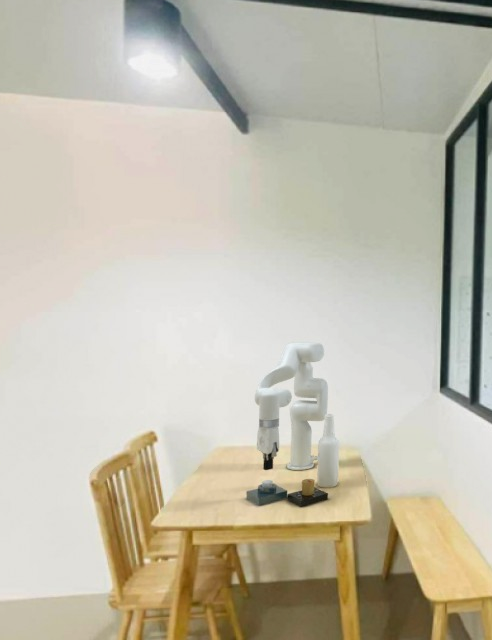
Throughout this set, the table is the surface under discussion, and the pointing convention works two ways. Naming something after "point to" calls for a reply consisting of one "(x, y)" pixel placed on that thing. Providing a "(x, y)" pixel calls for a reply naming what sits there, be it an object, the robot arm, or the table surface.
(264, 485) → the light grey short cylinder
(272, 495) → the push button box
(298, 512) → the table surface
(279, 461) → the table surface
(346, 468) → the table surface
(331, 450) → the alcohol
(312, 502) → the dial plate
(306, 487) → the dial
